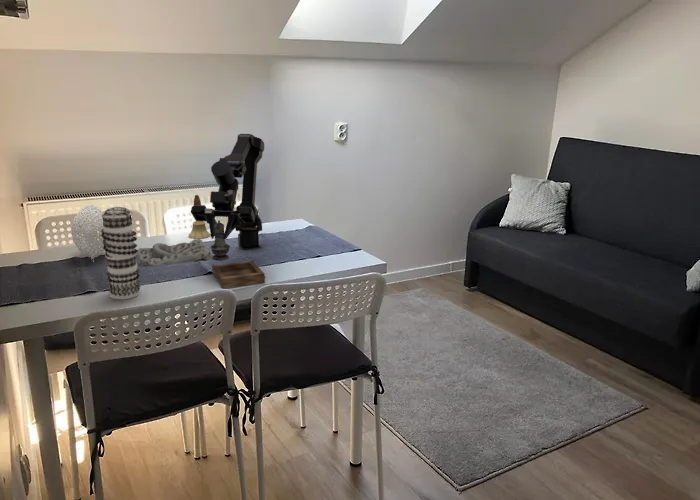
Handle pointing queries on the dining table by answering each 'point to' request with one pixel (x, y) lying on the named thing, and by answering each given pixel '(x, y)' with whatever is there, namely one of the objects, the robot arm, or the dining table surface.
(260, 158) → the robot arm
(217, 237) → the stone chess piece
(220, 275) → the walnut tray
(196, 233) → the hand bell
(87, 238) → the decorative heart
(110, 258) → the decorative candle
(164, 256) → the wall plaque
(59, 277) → the dining table surface
